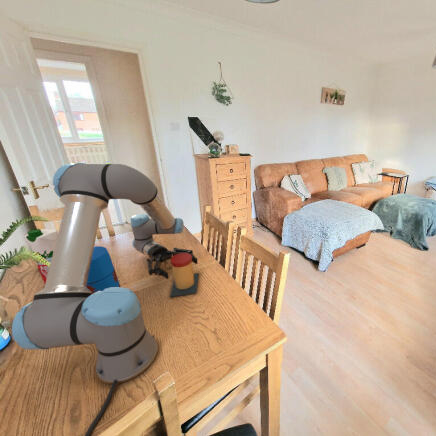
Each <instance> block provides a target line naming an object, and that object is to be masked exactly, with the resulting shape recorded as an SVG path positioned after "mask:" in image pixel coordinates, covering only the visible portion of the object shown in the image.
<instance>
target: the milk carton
mask: <svg viewBox="0 0 436 436" xmlns="http://www.w3.org/2000/svg"><path fill="white" fill-rule="evenodd" d="M58 232H59V230H58V229H47V228H42V229H40V228H34V229H30V230H27V234H25V235H23V238H24V240H25V241H26V242H27V244H28V245H29V247H30V249H31V252H33V251H34V252H39V255H41V256H42V257H44V258H45V259H46V258H51V257H52V256H53V252H54V248H55V244H56V240H57V236H58ZM36 264H38V261H36Z"/></svg>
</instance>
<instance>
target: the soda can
mask: <svg viewBox="0 0 436 436" xmlns="http://www.w3.org/2000/svg"><path fill="white" fill-rule="evenodd" d="M46 260H47V261H48V262H50V263H51V260H52V257H51V258H46ZM49 268H50V267H48V266H47V265H44V264H41V263H39V262H38V263H37V270H38V271H39V272H38V273H39V274H40V276H41V279H42V281H43V283H44V285H45V284H46V280H47V276H48V272H49Z"/></svg>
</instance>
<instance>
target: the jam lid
mask: <svg viewBox="0 0 436 436" xmlns="http://www.w3.org/2000/svg"><path fill="white" fill-rule="evenodd" d="M191 262H192V256H191V255H190V254H188V253H180V254H177V255H174V256H173V255H172V258H171V259H170V264H171V267H172V266H174V267H184V266H187V265H189V264H190V263H191ZM192 263H193V262H192Z"/></svg>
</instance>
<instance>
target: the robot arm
mask: <svg viewBox="0 0 436 436" xmlns="http://www.w3.org/2000/svg"><path fill="white" fill-rule="evenodd" d="M52 186H54V187H53V190H54V193H55V195H56V196H58V197H59V201H60V203H62V205H64V208H63V213H62V216H61V220H60V224H59V228H58V236H57V240H56V244H55V248H54V252H53V256H52V260H51V264H50V268H49V272H48V276H47V280H46V284H45V283H44V287H43V288H42V289H40V290H39V291H37V292H36V293H34V295H33V299H32V302H28V303H27V304H25V305H23V306H22V307H21V308H20V309H19V310H18V311H17V312H16V314H15V316H14V318H13V320H12V323H11V324H12V325H11V335H12V338H13V340H14V342H15V343H17V345H18V346H19V347H20V348H22V349H24V350H42V351H45V350H49V349H57V348H64V347H65V348H66V347H72V346H81V345H89V344H94V345H95V348H96V349H97V350H96V351H97V357H96V364H95V372H96V376H97V378H98V379H99V381H100V382H101V383H104V384H106V385H111V386H110V389H109V391H108V394H107V396H106V399H105V401H104V403H103V405H102V407H101V409H100V410H99V412H98V413H97V415H96V416H95V418H94V420H93V421H92V422H91V424H90V426H89V427H88V429H87V431H86V432H85V433H84V436H91V433H92V432H93V431H94V429H95V427H96V426H97V424H98V422H99V421H100V419H102V416H103V415H104V414H105V411H106V409H107V407H108V406H109V404H110V402H111V400H112V397H113V394H114V392H115V389H116V387H117V385H119V384H124V383H126V382H129V381H131V380H134V379H136V378H138V377H139V376H140V375H141V374H142V373H144V372H146V370H147V369H148V368H149V367H151V365H152V364H153V362H154V361H155V360H156V357H157V355H158V352H159V347H158V343H157V340H156V338H155V335H154V334H153V335H152V334H151V333H150V332H149V331H148V329H146V325H145V324H146V323H145V321H144V315H143V312H142V309H141V308H142V307H141V306H142V305H141V303H140V300H139V299H138V296H137V294H136V293H135V292H134V291H133V290H132V289H130V288H127V287H122V286H121V287H112V288H107V289H104V290H103V291H98V292H95V293H93V294H92V292H91V291H90V290H89V289H88V288H87V281H88V276H89V271H90V266H91V260H92V255H93V250H94V247H95V246H96V245H95V244H96V239H97V235H98V228H99V223H100V218H101V214H102V211H104V210H105V209H107V208H108V207H109V204H110V203H109V202H110V200H128V201H130V202H132V203H133V204H135V205H137V206H139V207H140V208H141V210H143V211H144V212H145V213H146V214H145V213H139V214H134V215H132V217H130V219H129V221H130V227H131V230H132V234H133V237H134V239H133V240H132V247H133V248H134V249H135V250H136V251H137V252H139V253H141V254H143V255H144V256H146V257H147V258H146V264H147V272H148V275H149V276H152V275H153V274H154V276H159V277H162V278H164V279H166V280H169V279H170V277H169V272H167V271H166V270H164V269H162V267H161V266H162V265H163V263H165V262H167V261H169V260H170V261H171V258H172V257H173V256H174V255H177V254H180V253H188V254H190V255H191V256H192V264H195V265H198V264H199V261H198V258H197V257H196V255H194V253H193V252H194V250H193V249H187V248H186V249H185V248H178V247H173V248H172V250H169V249H168V248H167V247H166V246H163V245H162V244H161V243H159V242H157V241H155V240H154V237H153V235H175V234H182V233H183V232H184V227H185V225H184V224H185V223H184V220H183V219H182V218H180V217H175V216H174V215H173V214H172V212H171V211H170V210H169V208H168V207H167V205H166V204H165V202H164V201H163V199H162V198H161V196H160V195H159V190H158V188H157V186H156V184H155V183H154V182H153V180H151V179H150V177H148V176H147V175H146V174H144V173H143V172H141V171H139V170H138V169H136V168H134V167H132V166H129V165H127V164H122V163H86V162H75V163H66V164H63V165H61V166H60V167H59V168H57V170H56V171H55V172H54V174H53V177H52ZM153 264H154V266H153Z"/></svg>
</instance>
